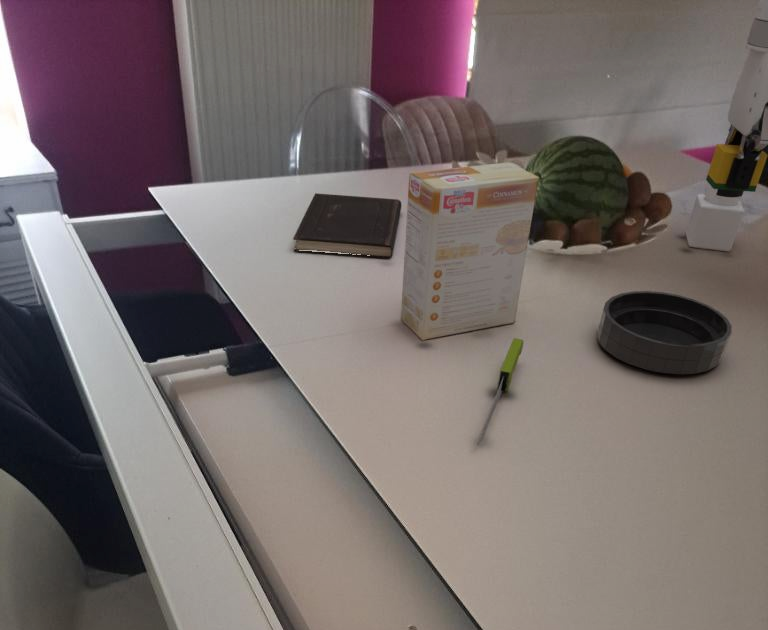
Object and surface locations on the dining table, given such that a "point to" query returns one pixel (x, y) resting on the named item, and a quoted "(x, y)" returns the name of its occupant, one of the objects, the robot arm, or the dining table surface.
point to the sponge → (723, 165)
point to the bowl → (663, 332)
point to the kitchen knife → (504, 378)
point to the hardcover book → (349, 226)
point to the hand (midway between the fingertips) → (731, 181)
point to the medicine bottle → (715, 219)
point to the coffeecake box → (465, 247)
